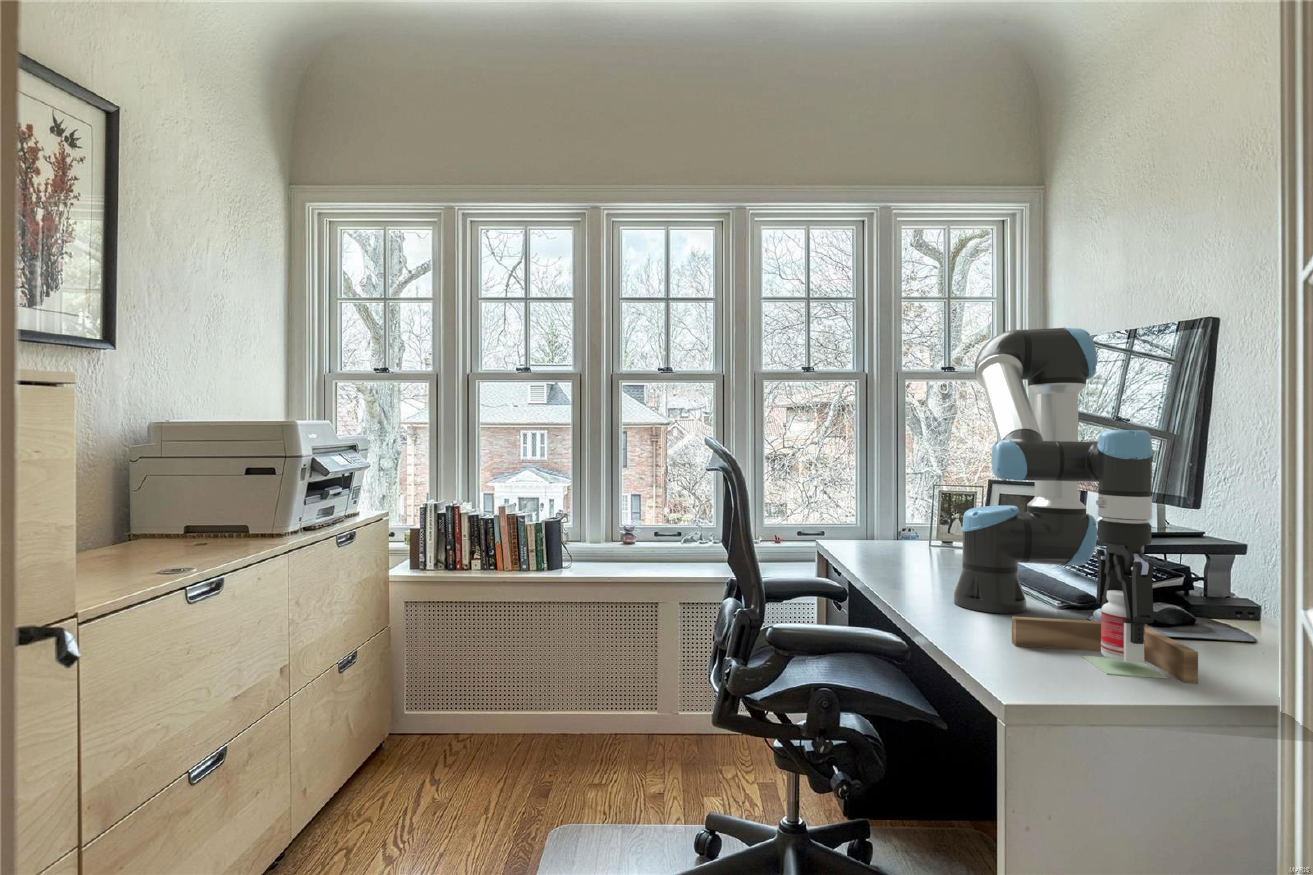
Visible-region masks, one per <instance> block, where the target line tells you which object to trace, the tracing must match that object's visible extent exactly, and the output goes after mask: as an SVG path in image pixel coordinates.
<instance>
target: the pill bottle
mask: <svg viewBox="0 0 1313 875" xmlns="http://www.w3.org/2000/svg"><path fill="white" fill-rule="evenodd" d="M1107 600H1108V603H1106V604H1104V605H1103V606H1102V607H1101V614H1100V615H1101V617H1100V618H1101V620H1100V621H1101V651H1100V652H1101V655H1102V656H1104V657H1108V658H1111V659H1114V660H1118V661H1123V662H1125V661H1124V623H1123V621H1122V620H1123V619H1127V615H1126V608H1125V602H1124V595H1123V591H1119V590H1109V591H1107ZM1145 626H1146V624H1145V625H1144V660H1145ZM1130 663H1133V662H1130Z"/></svg>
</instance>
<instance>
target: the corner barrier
mask: <svg viewBox="0 0 1313 875" xmlns="http://www.w3.org/2000/svg"><path fill="white" fill-rule="evenodd" d="M1011 644H1013V645H1014V646H1015V647H1025V648H1026V647H1030V648H1048V649H1060V650H1076V651H1077V650H1079V651H1092V652H1093V651H1094V652H1101V620H1086V619H1085V620H1082V619H1081V620H1080V619H1067V618H1065V619H1063V618H1049V617H1048V618H1047V617H1046V618H1045V617H1027V616H1012V617H1011ZM1144 661H1147V662H1148V663H1150V664H1152V665H1153V666H1155V667H1156V668H1159V669H1160V670H1161V671H1163V672H1166V673H1167V674H1169V675H1171V676H1172V677H1174V678H1176V679H1177V680H1179V681H1180V682H1183V683H1186V684H1187V683H1189V684H1199V651H1197V650H1195V649H1194V648H1191V647H1189V646H1187V645H1184V644H1183V643H1181V642H1179V641H1177V640H1175V639H1172V638H1170V637H1168V636H1166V635H1164V634H1163V633H1161V632H1159V631H1156V630H1155V629H1152V628H1150V627H1148V626H1146V625H1145V659H1144Z"/></svg>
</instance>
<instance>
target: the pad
mask: <svg viewBox="0 0 1313 875" xmlns="http://www.w3.org/2000/svg"><path fill="white" fill-rule="evenodd" d="M1081 657H1082V658H1083V659H1084V660H1086V661H1087V662H1088V663H1089V664H1091V665H1093V666H1094V667H1095V668H1096V669H1099V670H1100V671H1102V672H1103V673H1104V674H1106V675H1110V676H1124V677H1125V676H1126V677H1128V676H1129V677H1141V678H1143V677H1144V678H1156V679H1157V678H1159V679H1169V677H1168V676H1167V675H1165V674H1163V673H1161V672H1160V671H1158V670H1157V669H1156V668H1153V667H1152V666H1150V665H1148V664H1146V663H1145V662H1144V663H1130V662H1123V661H1118V660H1114V659H1111V658H1108V657H1106V656H1104V657H1103V656H1091V655H1090V656H1089V655H1082V656H1081Z"/></svg>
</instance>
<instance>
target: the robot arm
mask: <svg viewBox="0 0 1313 875" xmlns="http://www.w3.org/2000/svg"><path fill="white" fill-rule="evenodd" d="M1097 354H1098V353H1097V348H1096V345H1095V341H1094V339H1093V337H1092V336H1091V334H1090V333H1089V332H1088V331H1087V330H1085V329H1082V328H1075V327H1073V328H1072V327H1071V328H1070V327H1069V328H1068V327H1057V328H1056V327H1055V328H1054V327H1053V328H1036V329H1035V328H1034V329H1031V328H1030V329H1011V330H1006V331H1003V332H1001V333H999V334H997V335H995V336H994V337H991V339H990V340H988V341H987V342H986V343H985V344H984V345H983V346H982V347H981V349H980V350H979V352H978V353H977V356H976V358H975V361H974V374H975V378H976V381H977V383H978V384H979V386H981V387H982V388H984V392H985V397H986V399H987V403H988V407H989V410H990V414H991V417H992V420H993V424H994V427H995V431H996V435H997V439H998V440H997V441H995V442H994V444H993V445H992V449H991V454H990V455H991V456H990V458H991V460H990V462H991V469H992V473H993V475H994V477H996V478H998V479H1001V480H1013V481H1017V482H1019V481H1034V497H1033V499H1031V500H1030V501H1029V502H1028V503H1027V505H1026V508H1027V511H1026V512H1024V511H1023V512H1021V511H1020V509H1019V507H1018V506H1017V505H1009V504H1008V505H1001V504H1000V505H987V506H977V507H973V508H968V510H966V511H965V512H964V514H963V517H962V526H961V531H962V563H961V564H962V569H961V574H960V576H959V578H958V581H957V583H956V586H955V589H954V594H953V603H954V604H955V605H957V606H959V607H961V608H965V609H969V610H973V611H976V612H977V611H978V612H984V613H992V614H993V613H994V614H1020V613H1024V612H1025V611H1027V598H1026V596H1025V593H1024V590H1023V588H1022V587H1023V586H1022V584H1021V581H1020V578H1019V564H1020V563H1021V564H1039V565H1040V564H1041V565H1055V566H1057V565H1058V566H1061V567H1066V566H1082V565H1085V564H1087V563H1088V562H1089V561H1090V559H1091V557H1093V554H1094V552H1095V550H1096V545H1097V540H1098V541H1100V542H1102V543H1106V548H1105V549H1103V548H1102V549H1099V548H1098V549H1097V550H1096V556H1097V577H1096V578H1097V580H1096V583H1097V584H1096V603H1097V604H1098V605H1100V606H1101V608H1102V606H1103V605H1104V604H1106V603H1108V600H1107V591H1109V590H1119V591H1123V595H1124V602H1125V608H1126V615H1127V619H1123V620H1122V621H1123V623H1124V661H1125V662H1133V663H1145V659H1144V625H1145V626H1146V625H1147V624H1154V617H1155V616H1154V593H1153V592H1154V591H1153V590H1154V589H1153V588H1154V587H1153V574H1154V567H1155V564H1154V562H1152V561H1146V560H1144V555H1143V550H1142V548H1143V546H1144V547H1145V546H1149V545H1151V543H1152V525H1151V523H1149V522H1148V521H1150V520H1152V518H1153V514H1152V513H1153V495H1152V491H1153V490H1152V488H1153V486H1152V485H1153V481H1152V480H1153V479H1152V478H1153V456H1154V449H1153V441H1152V435H1151V433H1150V432H1148V431H1147V430H1141V429H1137V430H1136V429H1134V430H1130V429H1127V430H1126V429H1122V430H1121V429H1120V430H1119V429H1118V430H1116V429H1113V430H1111V429H1110V430H1109V429H1108V430H1107V429H1106V430H1102V431H1101V432H1100V433H1099V435H1098V440H1097V441H1095V440H1093V441H1079V394H1080V393H1081V391H1083V390H1084V389H1085V388H1086V387H1087V380H1089V379H1092V378H1093V377H1094V376H1095V375H1096V373H1097V372H1096V371H1097V366H1098V357H1097V356H1098V355H1097ZM1023 380H1025V381H1026V380H1027V389H1028V390H1029V391H1031V393H1032V394H1033V395H1034V411H1033V407H1032V404H1031V402H1030V398H1029V397H1028V393H1027V391H1026V388H1025V385H1024V383H1023ZM1079 482H1080V483H1081V482H1083V483H1086V482H1088V483H1092V482H1093V483H1097V489H1098V490H1097V495H1098V497H1097V498H1098V500H1097V499H1096V501H1095V504H1096V506H1097V510H1098V511H1097V514H1098V517H1100V518H1102V519H1099V520H1098V521H1096V518H1095V517H1094V516H1093V514H1092V515H1091V514H1089V513H1087V506H1086V505H1085V504H1084V503H1083V502H1082V501H1080V499H1079Z"/></svg>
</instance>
